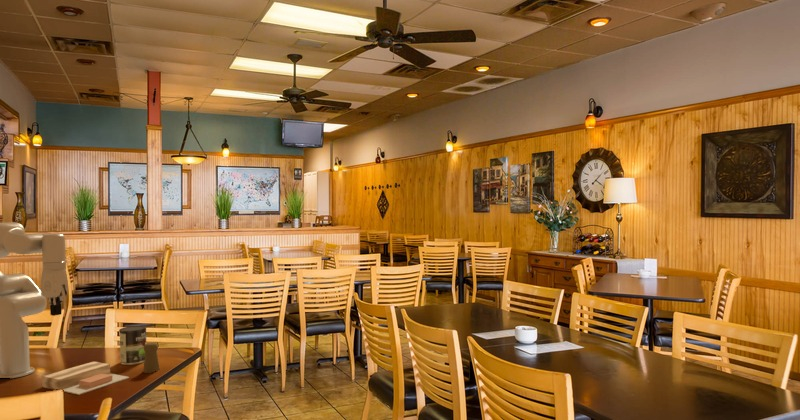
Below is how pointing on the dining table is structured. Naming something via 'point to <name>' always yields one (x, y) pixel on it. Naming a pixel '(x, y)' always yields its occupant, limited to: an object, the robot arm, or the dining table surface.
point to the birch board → (74, 375)
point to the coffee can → (132, 345)
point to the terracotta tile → (95, 380)
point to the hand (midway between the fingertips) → (56, 314)
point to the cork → (151, 358)
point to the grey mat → (81, 390)
